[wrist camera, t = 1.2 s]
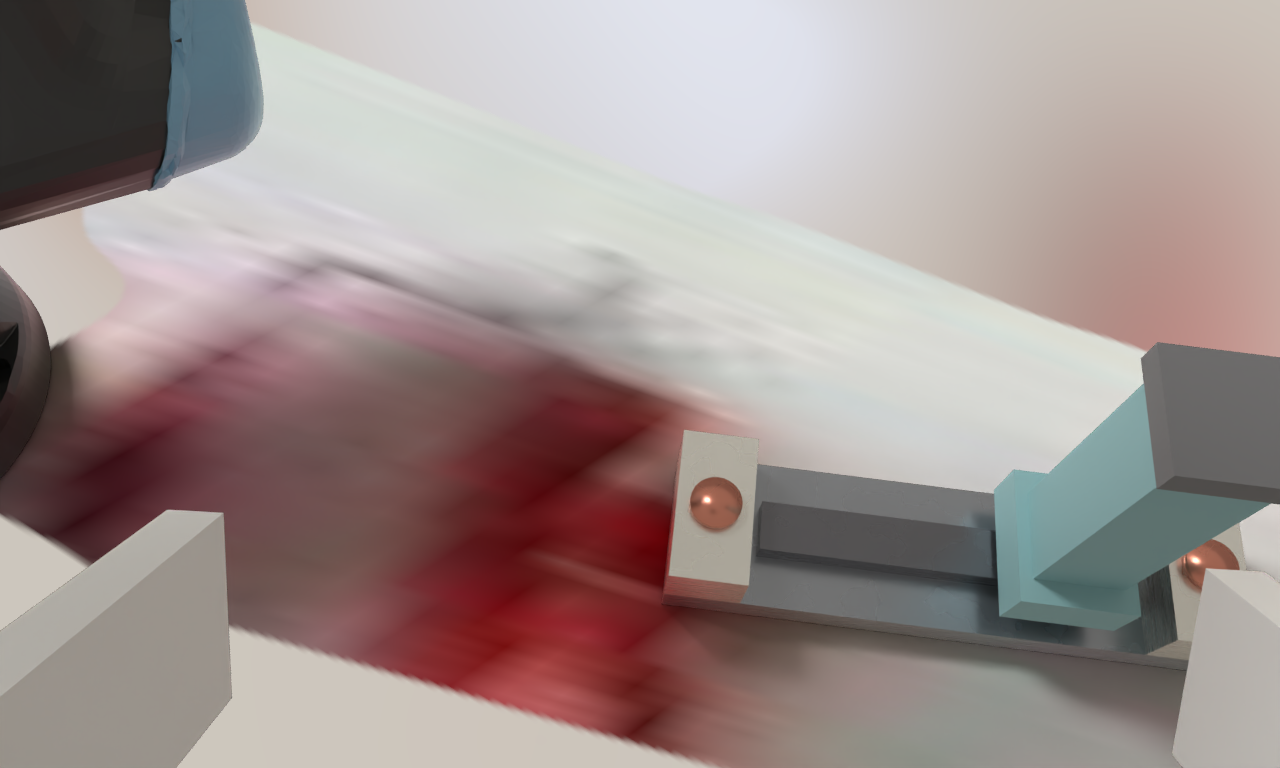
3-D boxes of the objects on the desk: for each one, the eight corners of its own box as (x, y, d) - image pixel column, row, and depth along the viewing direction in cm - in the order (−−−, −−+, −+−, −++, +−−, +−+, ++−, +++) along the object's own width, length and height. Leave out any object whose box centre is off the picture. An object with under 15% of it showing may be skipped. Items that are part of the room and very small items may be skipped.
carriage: (999, 616, 40) (1172, 492, 28) (993, 490, 42) (1152, 327, 31) (1113, 630, 40) (1335, 512, 28) (1102, 503, 42) (1301, 345, 31)
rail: (661, 604, 42) (669, 572, 38) (676, 468, 45) (684, 425, 41) (1201, 672, 42) (1265, 647, 38) (1183, 531, 45) (1241, 495, 41)
